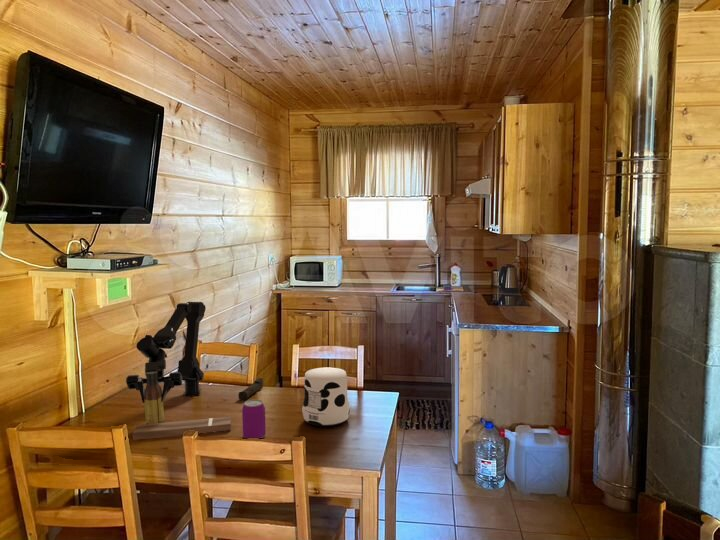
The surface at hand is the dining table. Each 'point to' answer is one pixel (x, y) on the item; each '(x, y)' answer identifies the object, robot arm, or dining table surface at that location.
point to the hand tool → (251, 389)
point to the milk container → (325, 397)
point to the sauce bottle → (153, 399)
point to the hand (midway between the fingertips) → (152, 401)
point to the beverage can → (254, 419)
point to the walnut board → (181, 427)
